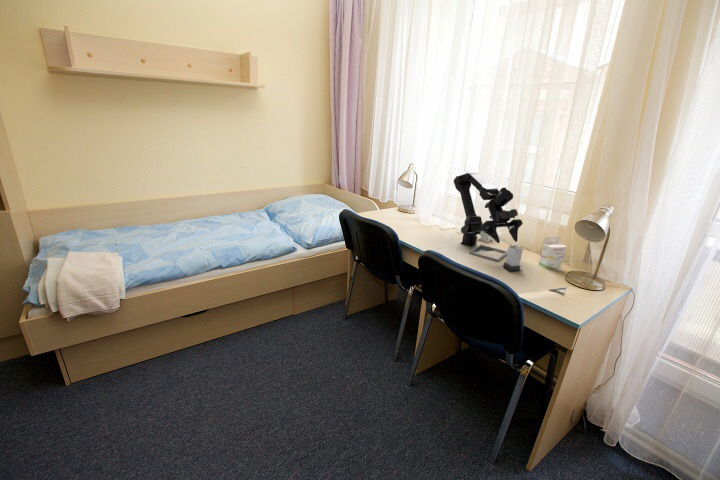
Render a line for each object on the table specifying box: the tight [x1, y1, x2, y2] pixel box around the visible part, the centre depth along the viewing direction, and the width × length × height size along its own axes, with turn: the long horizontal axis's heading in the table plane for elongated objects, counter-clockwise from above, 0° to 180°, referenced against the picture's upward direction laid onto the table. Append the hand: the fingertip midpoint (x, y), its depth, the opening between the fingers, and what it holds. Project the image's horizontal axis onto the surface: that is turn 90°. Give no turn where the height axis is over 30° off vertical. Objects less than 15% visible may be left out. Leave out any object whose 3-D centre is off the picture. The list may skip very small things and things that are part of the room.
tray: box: [468, 244, 508, 263], centre depth 164 cm, size 14×14×2 cm
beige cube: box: [479, 231, 493, 243], centre depth 187 cm, size 6×6×6 cm
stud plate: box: [500, 264, 524, 273], centre depth 149 cm, size 7×7×2 cm
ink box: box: [538, 236, 568, 271], centre depth 151 cm, size 9×5×15 cm, turn 105°
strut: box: [503, 244, 524, 271], centre depth 147 cm, size 5×5×10 cm
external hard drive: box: [548, 287, 567, 295], centre depth 138 cm, size 2×8×12 cm
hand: (507, 242), depth 150 cm, fingers open, 9 cm apart
